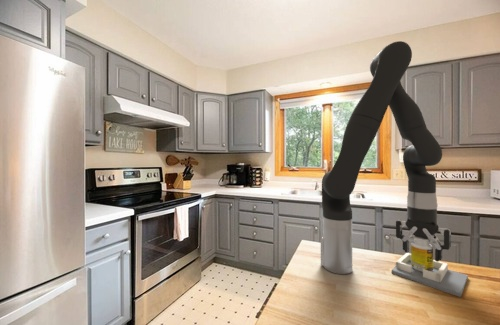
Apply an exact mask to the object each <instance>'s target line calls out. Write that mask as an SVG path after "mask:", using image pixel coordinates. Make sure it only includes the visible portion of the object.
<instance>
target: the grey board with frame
mask: <svg viewBox="0 0 500 325" xmlns="http://www.w3.org/2000/svg"><path fill="white" fill-rule="evenodd" d="M448 266H449V264H448V263H446V262H443V261H440V260H439V261H435V259H433V271H432V272H431V271H428V270H425V269H424V270H423V272H421V271H418V270H416V269H414V268H413V267H412V265H411V252H408V253H406V252H405V253H404V254H403V255H402V256H401V257H400V258H398V259H397V260H396V262H395V266H394V267H393V268H392V269H391V274H393V275H396V276H400V277H402V278H405V279H408V280H411V281H413V282H417V283H419V284H422V285H425V286H427V287H430V288H434V289H437V290H439V291H442V292H445V293H447V294H450V295H453V296H456V297H459V298H461V297H462V296H463V295H462V294H464V289H465V287H466V285H467V281H468V279H469V278H468V277H469V275H468V274H464V273H461V272H458V271H454V270H451V269H449V267H448Z"/></svg>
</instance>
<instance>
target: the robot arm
mask: <svg viewBox="0 0 500 325" xmlns="http://www.w3.org/2000/svg"><path fill="white" fill-rule="evenodd" d="M412 57H413V52H412V48H411V46H410V45H409V44H408V43H407V42H406V41H400V40H399V41H393V42H392V43H389V44H388V45H386V46H384V47H383V48H382V49H381V50H380V51H379V52H378V53H377V54H376V55H375V56H374V57H373V59H372V60H371V62H370V63H369V71H370V74H371V76H372V79H371V82H370V83H369V85H368V87H367V89H366V91H365V92H364V93H363V95H362V96H361V98H360V100H359V101H357V104H356V106H355V107H354V109H353V111H352V112H351V115H350V117H349V120H348V122H347V125H346V126H345V130H344V133H343V136H342V141H341V142H342V143H341V146H340V151H339V154H338V156H337V159H336V161H335V163H334V164H333V165H332V166H333V167H332V169H331V170H328V171H327V172H325V174H324V175H323V176H322V180H321V207H322V237H320V265H321V266H322V267H323V268H324V269H325V270H327V271H329V272H331V273H334V274H337V275H347V274H351V273H352V272H353V264H354V263H353V210H352V206H351V196H350V195H351V194H352V193H354V192H353V191H354V189H355V186H356V184H357V181H358V176H359V173H360V170H361V167H362V165H363V162H364V160H365V158H366V156H367V154H368V152H369V151H370V148H371V146H372V145H373V142H374V140H375V138H376V136H377V133H378V131H379V128H380V127H381V125H382V122H383V120H384V116H386V115H385V114H386V112H387V110H388V108H390V111H391V113H392V115H393V118H394V121H395V124H396V127H397V129H398V133H399V135H400V137H401V139H402V140H406V141H409V142H410V143H411V145H409V146H407V147H406V148H405V149H404V151H403V154H402V163H403V166H404V169H405V173H406V176H407V179H408V180H407V181H408V182H407V196H406V197H407V198H406V200H407V201H406V212H407V213H406V216H407V218H406V221H405V220H402V219H398V220H396V221H395V237H396V238H397V239H399V240H401V241H402V250H403V251H404V253H405V254H406V253H410V240H409V239H410V238H411V237H412V236H416V237H422V238H425V239H427V238H429V240H430V243H432V245H433V246H434V247H435V249H434V250H435V252H434V260H435V261H439V262H440V261H441V260H442V259H443V250H447V251H448V250H450V248H451V245H452V241H451V240H452V229H451V228H449V227H446V228H445V227H444V228H443V227H439V225H438V199H437V180H436V176H435V175H433V174H432V173H430V172H428V171H427V168H426V167H431V166H436V165H438V164H439V163H440V162H441V160H442V158H443V151H442V150H443V149H442V147H441V144H439V142H438V141H437V139H436V137H435V136H434V135H433V133H431V131H430V130H429V129H428V127H427V124H426V121H425V119H424V117H423V113H422V111H421V109H420V107H419V106H418V103H416V102H415V101H414V99H413V98H412V97H411V96H410V95H409V94H408V93H407V91H406V90H405V89H404V87H403V85H402V82H401V80H402V79H403V77H404V75H405V73H406V71H407V69H408V68H409V66H410V65H411V61H412ZM403 227H404V228H405V227H406V228H407V229H408V230H409V231H408V232H407V233H406V234H403ZM438 232H439V233H440V235H442V236H443V243H441V241H440V239H439V237H438V236H437V235H436V234H437V233H438Z"/></svg>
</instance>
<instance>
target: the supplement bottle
mask: <svg viewBox="0 0 500 325" xmlns="http://www.w3.org/2000/svg"><path fill="white" fill-rule="evenodd" d="M433 246H434V245H433V244H431V241H430V240H429V238H427V239H425V238H422V237H416V236H415V235H413V241H411V243H410V254H411V265H412V267H413V268H414V269H416V270H418V271H421V272H423V270H424V269H425V270H428V271H431V272H432V271H433V260H434V247H433Z"/></svg>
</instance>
